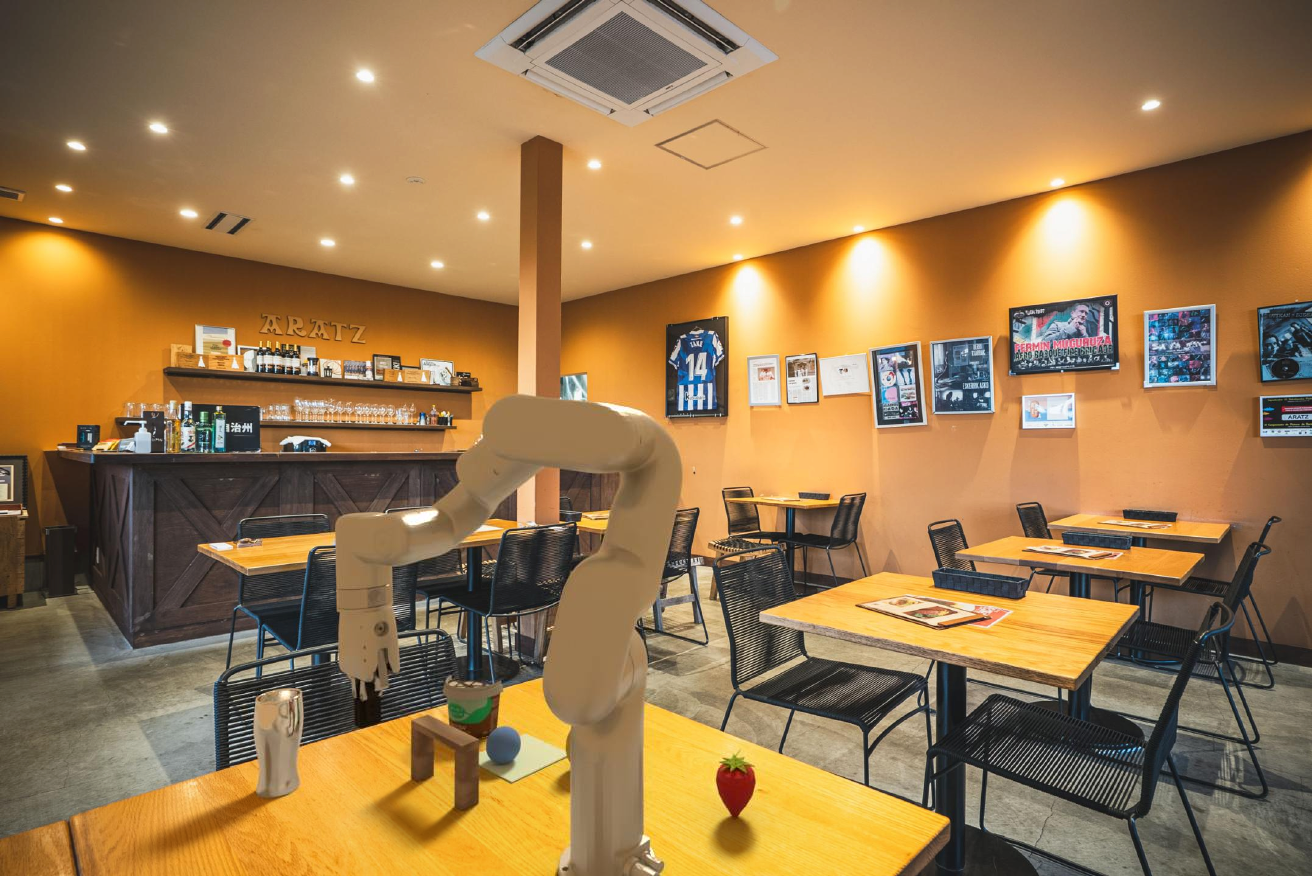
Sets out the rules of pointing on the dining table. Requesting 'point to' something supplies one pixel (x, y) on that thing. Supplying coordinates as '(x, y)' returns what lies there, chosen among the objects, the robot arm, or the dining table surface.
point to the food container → (473, 706)
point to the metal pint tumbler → (278, 741)
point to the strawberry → (735, 783)
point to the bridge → (465, 757)
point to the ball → (503, 745)
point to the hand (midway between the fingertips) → (368, 723)
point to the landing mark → (524, 759)
